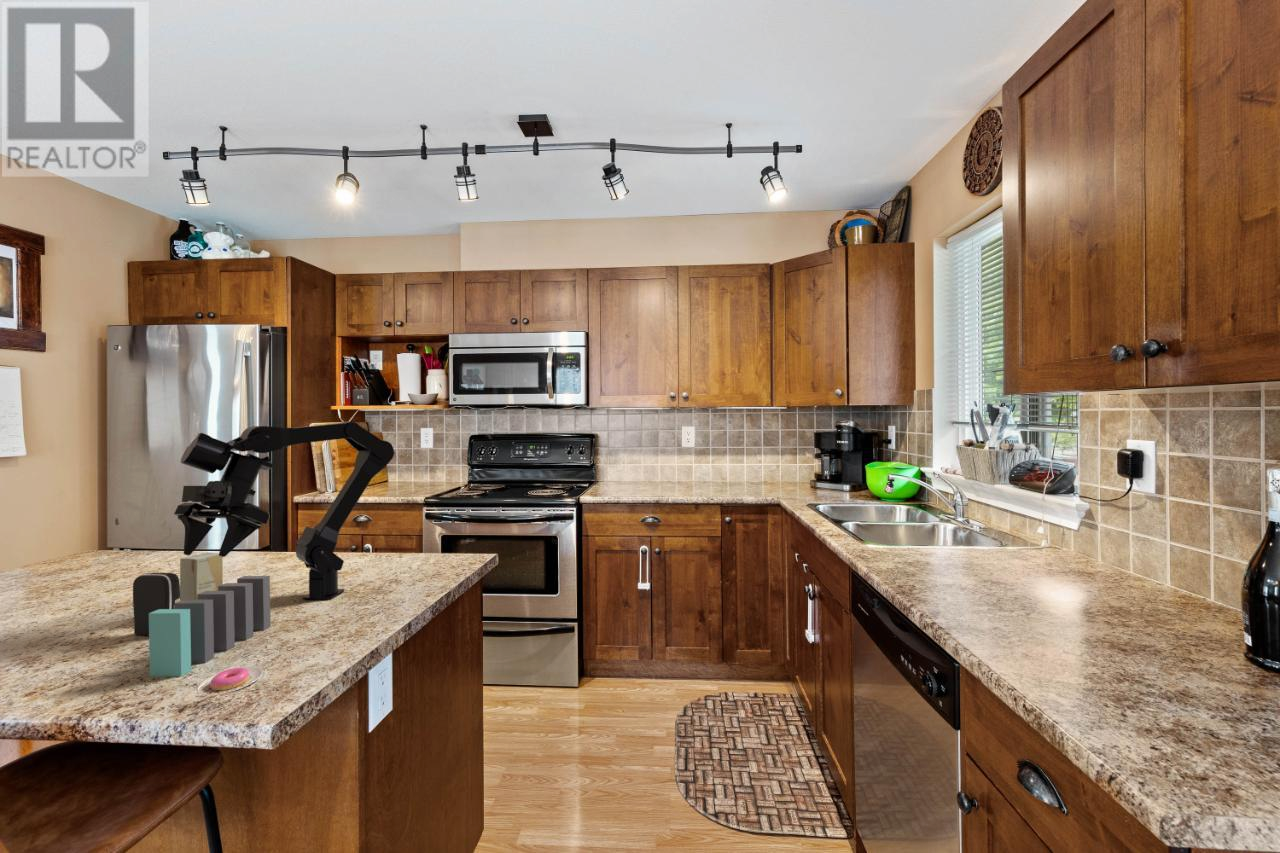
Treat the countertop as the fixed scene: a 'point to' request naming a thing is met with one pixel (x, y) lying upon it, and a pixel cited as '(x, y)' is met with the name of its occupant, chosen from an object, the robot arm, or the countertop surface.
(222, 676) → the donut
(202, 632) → the domino
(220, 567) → the skincare box
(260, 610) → the domino
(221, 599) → the domino
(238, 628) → the domino
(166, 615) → the domino
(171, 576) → the black rounded upright block
